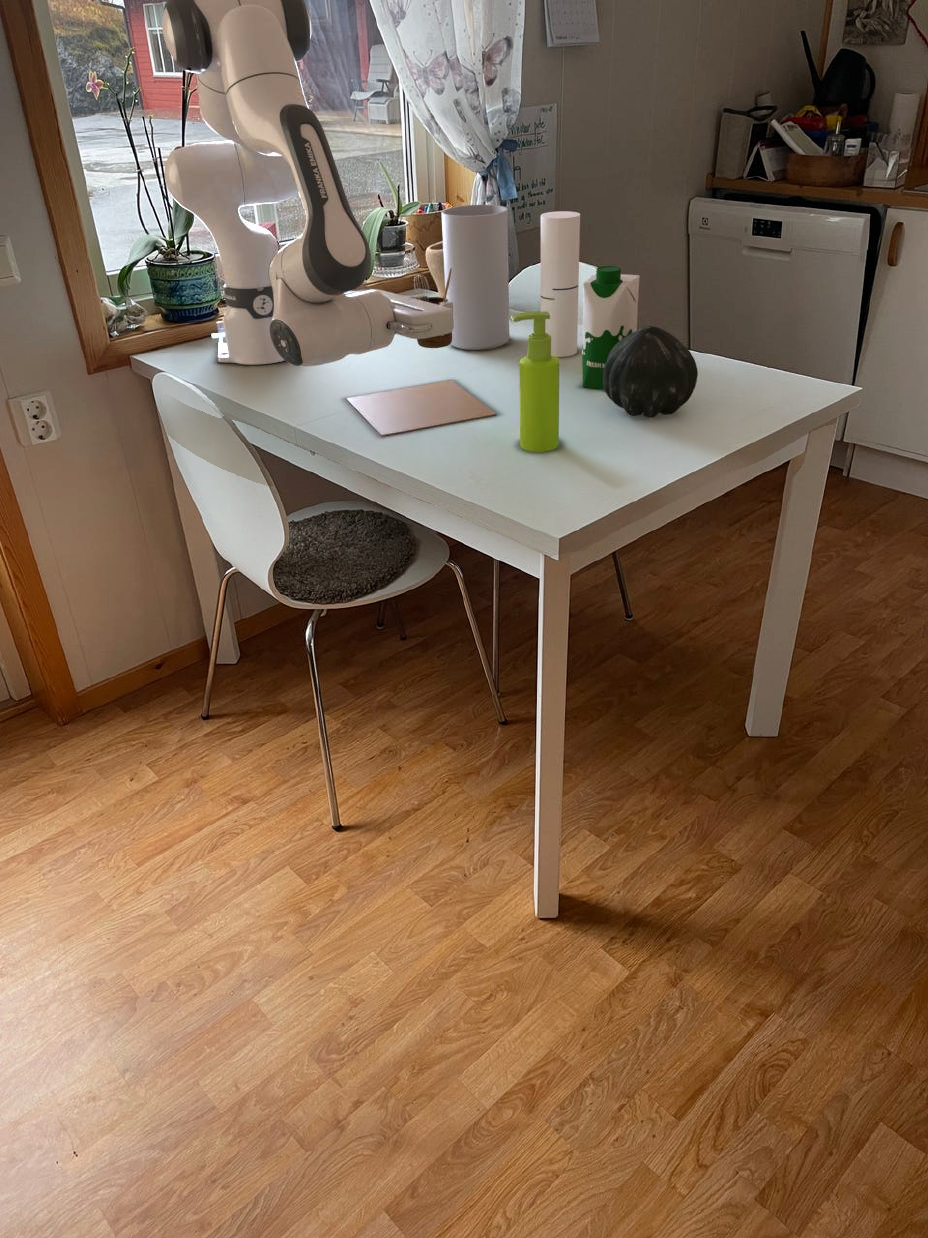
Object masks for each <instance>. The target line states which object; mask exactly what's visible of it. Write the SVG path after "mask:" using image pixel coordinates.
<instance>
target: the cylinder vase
mask: <svg viewBox="0 0 928 1238" xmlns="http://www.w3.org/2000/svg"><path fill="white" fill-rule="evenodd" d="M508 220H509V219H508V207H506V206H504V205H498V204H497V205H496V204H467V205H458V206H452V207H448V208H445V209H443V210H441V227H442V228H441V231H442V241H443V252H444V271H445V290H446V284H447V279H448V275H449V271H450V269H451V268H452V271H451V277H450V283H449V287H448V291H447V296H446V299H447V300H448V302H452V303H453V317H454V329H453V330H452V342H451V344H450V345H451V346H453V347H454V348H457V349H459V350H468V351H484V350H491V349H496V348H499V347H502V346H504V345H505V344H507V343H508V342H509V340H510V290H509V289H510V287H509V285H510V284H509V283H510V282H509V281H510V280H509V237H508V236H509V231H508V230H509V227H508V226H509V225H508Z"/></svg>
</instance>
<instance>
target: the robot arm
mask: <svg viewBox="0 0 928 1238" xmlns="http://www.w3.org/2000/svg"><path fill="white" fill-rule="evenodd" d="M162 15H163V16H162V21H161V22H162V25H161V26H162V27H161V28H162V35H163V40H164V43H165V46H166V48H167V50H168V52H169V53H170V54H169V55H171V57H172V59H173V62H174V63H175V65H176V66H178V67H179V68H180V69H182V70H183V71H185V72H187V73H188V72H189V73H193V74H195V76H196V85H197V96H198V104H199V112H200V115H201V117H202V119H203V121H204V122H205V124H206V125H207V126H208V127H209V128H210V129H211V130H212V131H213V132H214V133H216V134H217V135H218V136H220V137H222V138H223V139H226V140H221V141H209V142H197V143H193V144H189V145H186V146H185V145H184V146H183V147H180V148H176V149H174V150H172V151H171V152H170V153H169V155H168V157H167V159H166V162H165V165H164V180H165V186H166V189H167V190H168V192H169V194H170V195H171V197H172V198H173V200H175V202H176V203H177V204H178V205H179V206H181V207H182V208H184V209H185V210H187V211H189V212H190V213H192V214H193V215H194V216H195V217H196V218H197V219H199V220H200V222H202V223H203V225H204V226H205V227H206V229H207V230H208V232H209V233H210V235H211V236H212V239H213V241H214V243H215V246H216V249H217V251H218V255H219V261H220V264H221V268H222V269H221V270H222V274H223V279H224V280H223V281H224V285H223V297H224V302H225V304H226V308H225V311H224V313H223V317H222V318H221V319H222V320H221V321H216V326H217V333H211V338H212V339H218V349H217V362H219V363H234V364H239V365H249V366H250V365H252V366H253V365H254V366H255V365H266V364H268V365H269V364H275V363H279V362H280V363H281V362H284V361H285V362H286V363H288V364H290V365H292V366H295V367H303V368H306V367H315V366H320V365H326V364H330V363H334V362H338V361H341V360H343V359H344V358H346V357H348V356H349V355H363V354H366V353H369V352H373V351H377V350H381V349H384V348H387V347H389V346H390V345H391V344H392V342H393V341H394V338H395V336H396V335H398V336H402V337H405V338H408V339H414V340H417V339H424V338H430V337H435V336H440V335H444V334H448V333H451V332H452V330H453V329H454V317H453V303H452V302H448V301H444V302H439V305H437V304H433V303H429V302H425V301H421V300H419V298H420V299H423V298H428V297H429V296H428V295H425V294H418V295H417V294H416V295H402V294H398V293H394V292H391V291H387V290H383V289H378V288H369V289H367V290H360V291H351V290H354V289H356V288H358V287H359V286H360V285H361V284H363V283H364V282H366V279H367V278H368V276H369V273H370V270H371V266H372V254H371V249H370V245H369V242H368V239H367V237H366V234H365V233H364V231H363V229H362V228H361V226H360V224H359V222H358V221H357V219H356V217H355V215H354V212H353V211H352V208H351V206H350V204H349V200H348V197H347V195H346V191H345V189H344V186H343V183H342V179H341V177H340V174H339V170H338V168H337V165H336V162H335V158H334V155H333V153H332V149H331V146H330V143H329V141H328V139H327V136H326V133H325V130H324V128H323V126H322V124H321V122H320V120H319V118H318V117H317V115H316V114H315V112H313V111H312V110H311V109H310V107H309V105H308V103H307V102H308V101H307V100H306V97H305V93H304V89H303V85H302V81H301V76H300V72H299V69H298V66H297V63H298V62H300V61H302V60H303V59H305V58H306V55H307V54H308V53H309V51H310V48H311V47H310V46H311V36H312V22H311V17H310V13H309V11H308V8H307V5H306V2H305V0H166V2H165V4H163V14H162ZM296 197H299V198H300V200H301V204H302V207H303V209H304V213H305V226H304V228H303V231H302V233H301V234H300V235H299V236H297V237H296V238H295V239H293V240H291V241H289V243H287V244H286V245H284V246H283V247H282V248H281V249H279V244H278V241H277V239H276V238H275V236H274V235H273V233H271V232H270V231H269V230H268V229H266V228H264V227H262V226H259V225H257V224H254V223H251V222H249V221H247V220H245V219H244V218H243V217H242V216H241V212H240V208H242V207H245V206H257V205H265V204H266V205H267V204H277V203H280V202H283V201H287V200H290V199H293V198H296ZM420 295H421V296H420ZM422 296H423V297H422ZM418 297H419V298H418Z"/></svg>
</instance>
